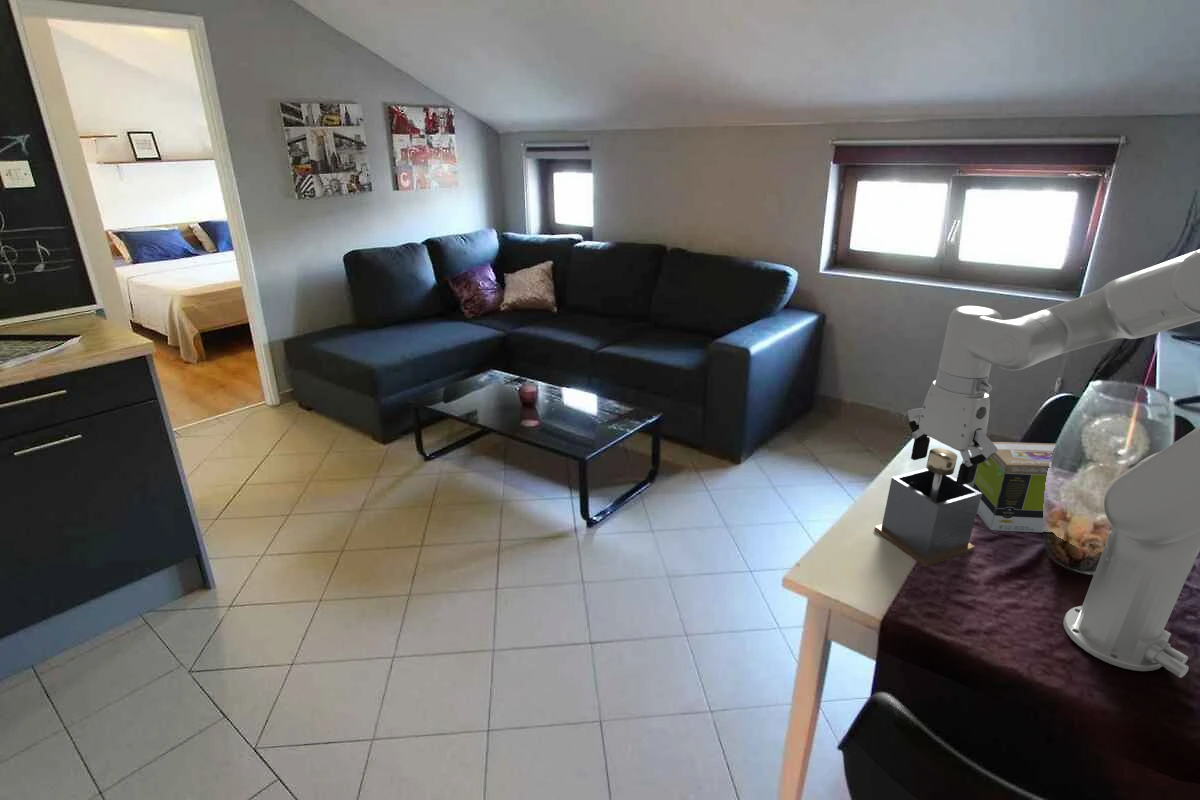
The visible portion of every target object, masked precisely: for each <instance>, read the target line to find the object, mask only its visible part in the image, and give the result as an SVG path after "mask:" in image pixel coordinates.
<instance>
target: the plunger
mask: <svg viewBox="0 0 1200 800" xmlns="http://www.w3.org/2000/svg"><path fill="white" fill-rule="evenodd" d="M957 459H958V455H957V454H956V453H955V452H953V451H951V450H949V449H945V448H939V447H936V448H931V449H930V450H929V452H928V458H927V461H926V465H925V466H926V468H927V469H928V470H929V471H931V472H933V473H935V475H934V480H933V484H932V488H931V492H930V497H929V498H931V499H933V500H934V501H936V499H937V495H938V491H939V487H940V483H941V479H942V475H950V476H952V475H953V474H954V473H955V469H956V464H957ZM926 468H925V469H926Z"/></svg>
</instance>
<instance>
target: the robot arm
mask: <svg viewBox="0 0 1200 800" xmlns="http://www.w3.org/2000/svg"><path fill="white" fill-rule="evenodd" d="M947 321H948V322H947V327H946V331H945V335H944V341H943V345H942V349H941V354H940V359H939V364H938V368H937V372H936V377H935V380H933V382H931V384H930V387H929V389H928V391H927V394H926V396H925V399H924V402H923V405H922V407H920V408H919V407H918V408H912V409H908V410H907V416H908V421H909V422H908V424H909V427H910V430H911V432H912V434H911V438H912V439H914V440H913V445H912V449H911V451H912V452H911V456H910V459H911V460H913V461H917V460H921V459H925V458H927V455H928V453H929V452H928V451H929V447H930V442H931V439H934V440H936V441H938V442H939V443H941V444H943V445H945V446H948V447H949V448H951V449H954V450H955V451H958V452H959V453H960V455H961V458H962V461H964V463H963V464H962V463H961V464H960V466H959V468H958V474H957V477H956V479H957V481H956V483H957V484H958V485H960V486H961V485H964V484H968V483H971V482H972V481H973V479H974V477H975V473H976V469H977V465H978V464H980V463H982V462H985V461H987V460H989V459H990V457H992V456H993V455H994V454H995V453H996V452H997V451H998V449H997V447H996V446H995V445H994V444H993V443H992V442H993V441H992V440H991V439H990V438H989V437H988V436H987V432H988V431H987V430H988V426H989V425H988V424H989V420H990V419H989V418H990V417H989V416H990V405H991V403H990V402H991V401H990V394H989V393H990V392H992V390H993V385H992V384H990V383H989V379H990V373H991V368H992V365H993V366H996V367H998V368H1000V369H1003V370H1007V371H1020V370H1024V369H1026V368H1030V367H1032V366H1034V365H1036V364H1039V363H1041V362H1043V361H1046V360H1048V359H1051V358H1054V357H1056V356H1059V355H1064V354H1066V353H1069V352H1072V351H1073V352H1074V351H1076V350H1079V349H1083V348H1086V347H1090V346H1093V345H1097V344H1100V343H1104V342H1107V341H1111V340H1117V339H1129V340H1134V339H1135V340H1137V339H1140V338H1145V337H1148V336H1151V335H1155V334H1158V333H1162V332H1166V331H1169V330H1171V329H1175V328H1179V327H1183V326H1186V325H1190V324H1193V323H1197V322H1200V248H1199V249H1197V250H1194V251H1191V252H1188V253H1185V254H1183V255H1180V256H1176V257H1173V258H1172V259H1169V260H1166V261H1163V262H1160V263H1158V264H1154V265H1152V266H1150V267H1149V266H1148V267H1147V268H1143V269H1141V270H1137V271H1135V272H1132V273H1130V274H1127V275H1124V276H1121V277H1118V278H1115V279H1113V280H1111V281H1109V282H1107V283H1106V284H1104V286H1102V287H1101V288H1099V289H1097V290H1094V291H1092V292H1090V293H1087V294H1084V295H1082V296H1081V295H1080V296H1079V297H1076V298H1074V299H1073V298H1072V299H1071V300H1068V301H1065V302H1062V303H1059V304H1056V305H1053V306H1050V307H1048V308H1045V309H1042V310H1039V311H1035V312H1033V313H1029V314H1026V315H1022V316H1020V317H1019V316H1018V317H1017V318H1011V319H1003V316H1002V314H1001V313H1000V312H998V311H997V310H995V309H992V308H990V307H985V306H978V305H963V306H962V305H960V306H958V307H955V308H954V309H952V311H951V313H950V314H949V317H948V320H947ZM980 447H982V448H983V451H982V452H981V454H980V453H979V450H978V448H980ZM971 455H972V458H971ZM1103 508H1104V512H1105V515H1106V518H1107V520H1108V521H1109V522H1110V523H1109V524H1110V525H1112V526H1111V529H1110V532H1109V535H1108V537H1107V539H1106V542H1105V545H1104V546H1103V549H1102V552H1101V555H1100V557H1099V559H1098V563H1097V566H1096V568H1095V570H1094V574H1093V577H1092V579H1091V581H1090V584H1089V587H1088V590H1087V592H1086V596H1085V598H1084V600H1083V603H1082V605H1079V606H1074V607H1072V608H1070V609H1069V610H1068V611H1067V612H1066V613H1065V615H1064V617H1063V628H1064V630H1065V632H1066V634H1067V635H1068V637H1070V639H1071V640H1072V641H1073V642H1074V643H1075V644H1076V645H1077V646H1078V647H1080V648H1081V649H1083V650H1084V651H1085V652H1086V653H1088V654H1090V655H1091V656H1093V657H1095V658H1097V659H1099V660H1101V661H1103V662H1104V663H1108V664H1110V665H1113V666H1115V667H1119V668H1121V669H1126V670H1131V671H1136V672H1137V671H1138V672H1149V671H1155V670H1159V669H1160V668H1162V667H1163V668H1165V670H1167V671H1169V672H1170V673H1171V674H1174V675H1175V676H1176V677H1178V678H1183V677H1184V676H1186V674H1187V673H1188V672H1189V669H1190V667H1189V666H1188V664H1186V663H1187V661H1188V660H1189V656H1188V655H1186V654H1184V653H1183V652H1181V651H1179V650H1177V649H1175V648H1174V647H1171V643H1169V639H1170V637H1172V633H1171V632H1169V631H1168V630H1165V627H1166V625H1167V623H1168V621H1169V618H1170V617H1171V614H1172V611H1173V609H1174V608H1175V605H1176V603H1177V601H1178V598H1179V596H1180V594H1181V592H1182V590H1183V587H1184V585H1185V583H1186V581H1187V579H1188V576H1189V575H1190V572H1191V571H1192V569H1193V566H1194V564H1195V562H1196V559H1197V557H1198V556H1199V553H1200V425H1199V426H1197V427H1196V428H1194V429H1193V430H1192V431H1190V432H1189V433H1187V434H1185V435H1184V436H1182V437H1181V438H1179V439H1178V440H1176V441H1174V442H1173V443H1171V444H1170V445H1168V446H1167V447H1166V448H1164V449H1161V451H1159V452H1158V451H1157V452H1155V453H1153V454H1150V455H1149V456H1147V457H1145V458H1144V459H1142V460H1140V461H1139V462H1138V463H1136V464H1135V465H1134V466H1132V467H1131V468H1130V469H1128V470H1127V471H1125V472H1124V473H1123V474H1121V475H1120V476H1118V477H1117V478H1116V479H1115V480H1113V481H1112V483H1111V484H1110V485H1109V487H1108V488H1107V490H1106V492H1105V495H1104V501H1103Z"/></svg>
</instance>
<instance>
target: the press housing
mask: <svg viewBox="0 0 1200 800" xmlns="http://www.w3.org/2000/svg"><path fill="white" fill-rule="evenodd" d="M934 475H935V473H933V472H931V471H929V470H928V469H927V468H922V469H918V470H914V471H911V472H907V473H903V474H900V475H896V476H892V477H891V479H890V484H889V490H888V494H887V500H886V503H885V510H884V514H883V518H882V523H881V524H879V525H875V526H874V530H873V531H874V532H875V533H876V534H879V536H881V537H883V538H884V539H885V540H886V541H888V542H890V544H892V545H893V546H895V547H896V548H898V549H899V550H900V551H902V553H905V554H906V555H907V556H908V557H910V558H911V559H913V560H914V561H916V563H919V564H920V565H921V566H923V567H925V568H927V567H930V566H933V565H936V564H939V563H942V562H945V561H947V560H948V561H949V560H951V559H954V558H956V557H959V556H960V557H961V556H963V555H966V554H969V553H972V552H974V551H975V547H976V546H975V545H974V544H973V543H970V539H971V536H972V532H973V528H974V526H975V521H976V517H977V515H978V514H977V511H978V507H979V503H980V500H981V496H982V493H981V492H979V491H977V490H975V489H974V488H972V487H970V486H968V485H966V484H964V485H961V486H960V485H958V484H957V483H956V481H957V478H956V477H954V476H952V475H942V479H941V483H940V487H939V491H938V495H937V499H936V501H934V500H933V499H931V498H929V497H930V492H931V488H932V484H933V480H934Z"/></svg>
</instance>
